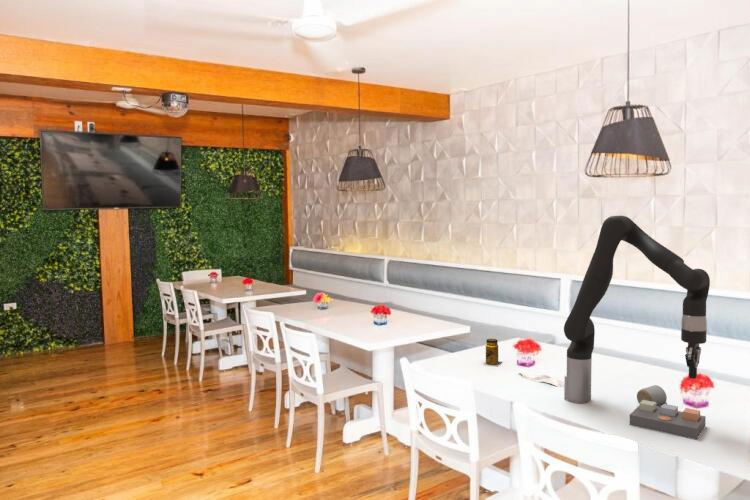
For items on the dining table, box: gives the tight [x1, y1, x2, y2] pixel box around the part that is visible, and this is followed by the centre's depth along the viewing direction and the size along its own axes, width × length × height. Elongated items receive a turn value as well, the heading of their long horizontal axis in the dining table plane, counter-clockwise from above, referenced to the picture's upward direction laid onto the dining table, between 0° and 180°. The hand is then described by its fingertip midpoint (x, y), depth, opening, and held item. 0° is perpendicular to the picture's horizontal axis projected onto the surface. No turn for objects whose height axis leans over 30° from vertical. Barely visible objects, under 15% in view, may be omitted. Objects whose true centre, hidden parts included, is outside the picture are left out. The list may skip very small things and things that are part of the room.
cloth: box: [518, 372, 565, 388], centre depth 257 cm, size 26×14×2 cm, turn 28°
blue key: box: [660, 403, 679, 417], centre depth 205 cm, size 4×4×3 cm
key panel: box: [629, 405, 706, 440], centre depth 203 cm, size 21×14×4 cm, turn 51°
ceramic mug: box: [636, 384, 668, 407], centre depth 221 cm, size 11×8×8 cm
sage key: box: [638, 400, 656, 413], centre depth 209 cm, size 4×4×3 cm
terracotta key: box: [682, 407, 701, 422], centre depth 200 cm, size 4×4×3 cm
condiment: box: [483, 338, 503, 367], centre depth 284 cm, size 7×8×12 cm
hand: (692, 377), depth 199 cm, fingers closed
